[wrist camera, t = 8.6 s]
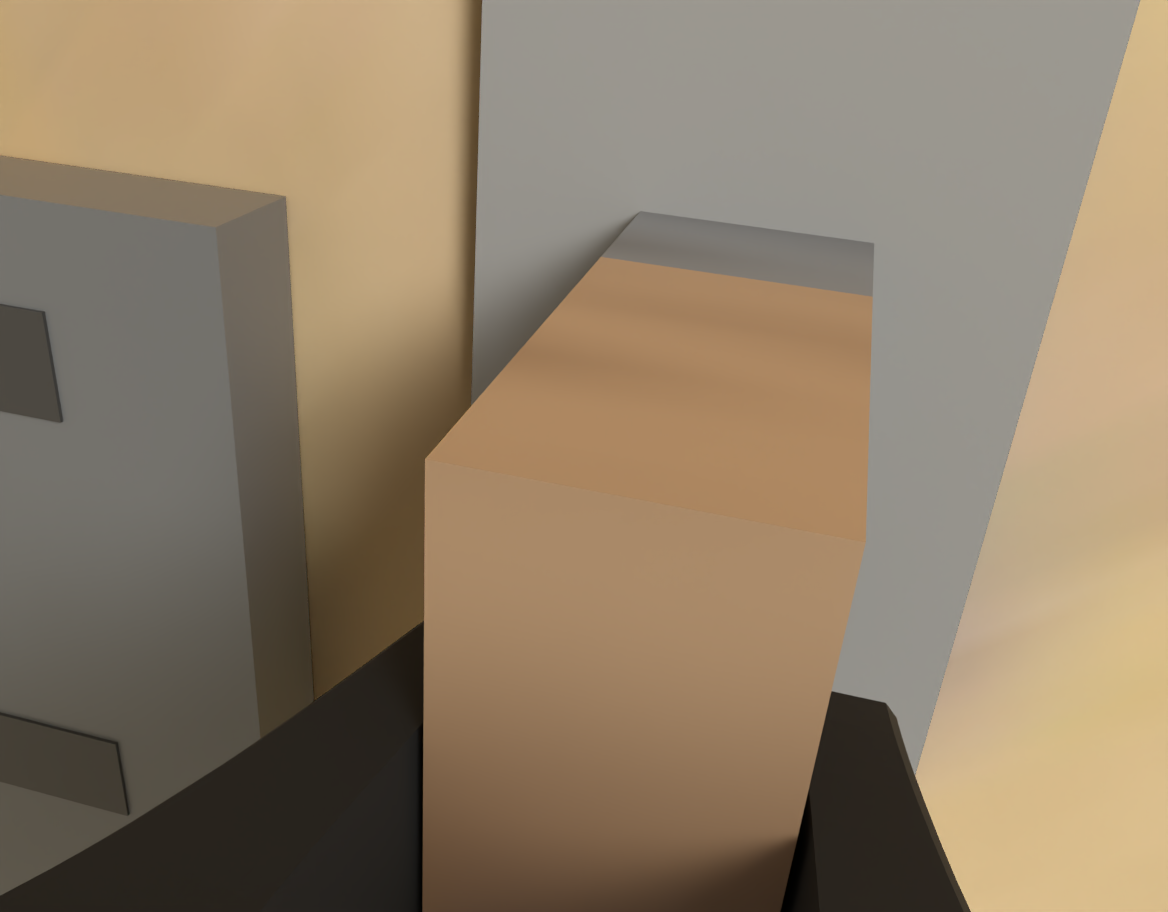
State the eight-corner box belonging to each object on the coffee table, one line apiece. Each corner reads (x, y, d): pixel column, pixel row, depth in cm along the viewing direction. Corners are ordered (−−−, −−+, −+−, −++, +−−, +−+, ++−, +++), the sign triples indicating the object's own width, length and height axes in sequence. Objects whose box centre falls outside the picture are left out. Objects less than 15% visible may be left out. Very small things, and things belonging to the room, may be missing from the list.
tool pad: (869, 909, 15) (869, 932, 15) (468, 808, 16) (459, 828, 16) (1133, -14, 9) (1144, -12, 9) (497, -70, 11) (483, -71, 10)
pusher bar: (766, 767, 14) (696, 1270, 9) (589, 725, 14) (421, 1182, 9) (874, 243, 11) (865, 542, 5) (640, 211, 11) (424, 459, 6)
